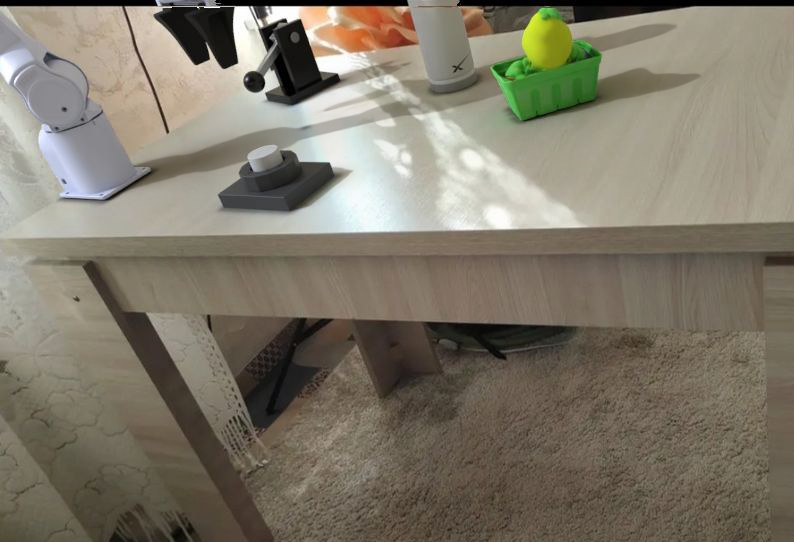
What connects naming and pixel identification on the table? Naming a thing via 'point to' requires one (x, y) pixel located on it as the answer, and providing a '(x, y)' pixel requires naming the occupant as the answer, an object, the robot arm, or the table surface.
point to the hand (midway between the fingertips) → (216, 64)
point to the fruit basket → (548, 68)
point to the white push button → (265, 158)
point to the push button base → (276, 184)
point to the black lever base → (294, 63)
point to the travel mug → (443, 44)
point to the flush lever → (262, 68)
